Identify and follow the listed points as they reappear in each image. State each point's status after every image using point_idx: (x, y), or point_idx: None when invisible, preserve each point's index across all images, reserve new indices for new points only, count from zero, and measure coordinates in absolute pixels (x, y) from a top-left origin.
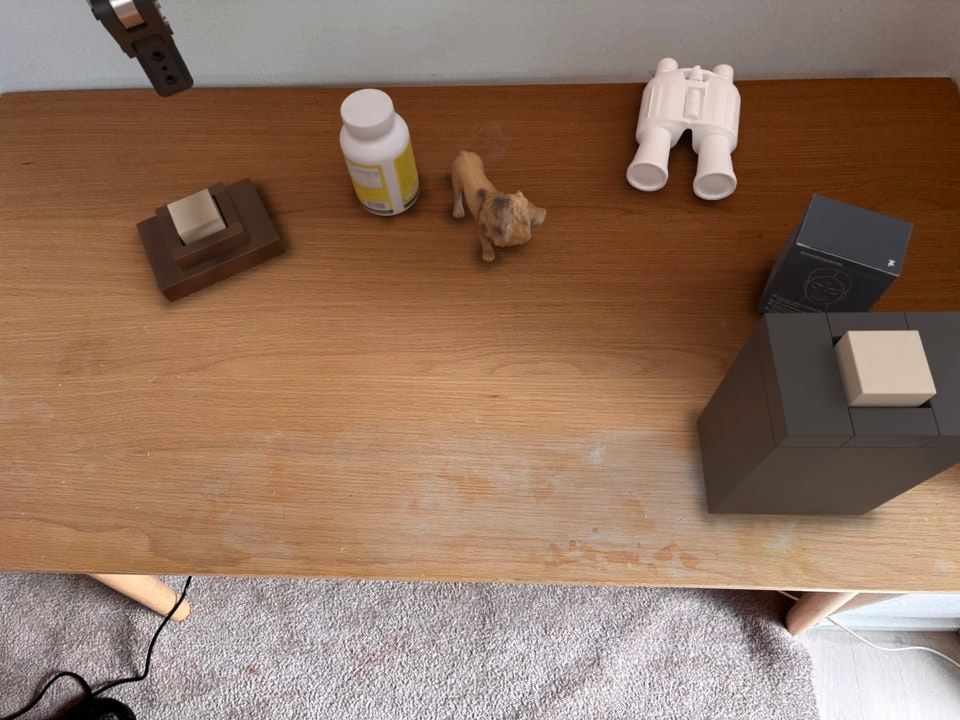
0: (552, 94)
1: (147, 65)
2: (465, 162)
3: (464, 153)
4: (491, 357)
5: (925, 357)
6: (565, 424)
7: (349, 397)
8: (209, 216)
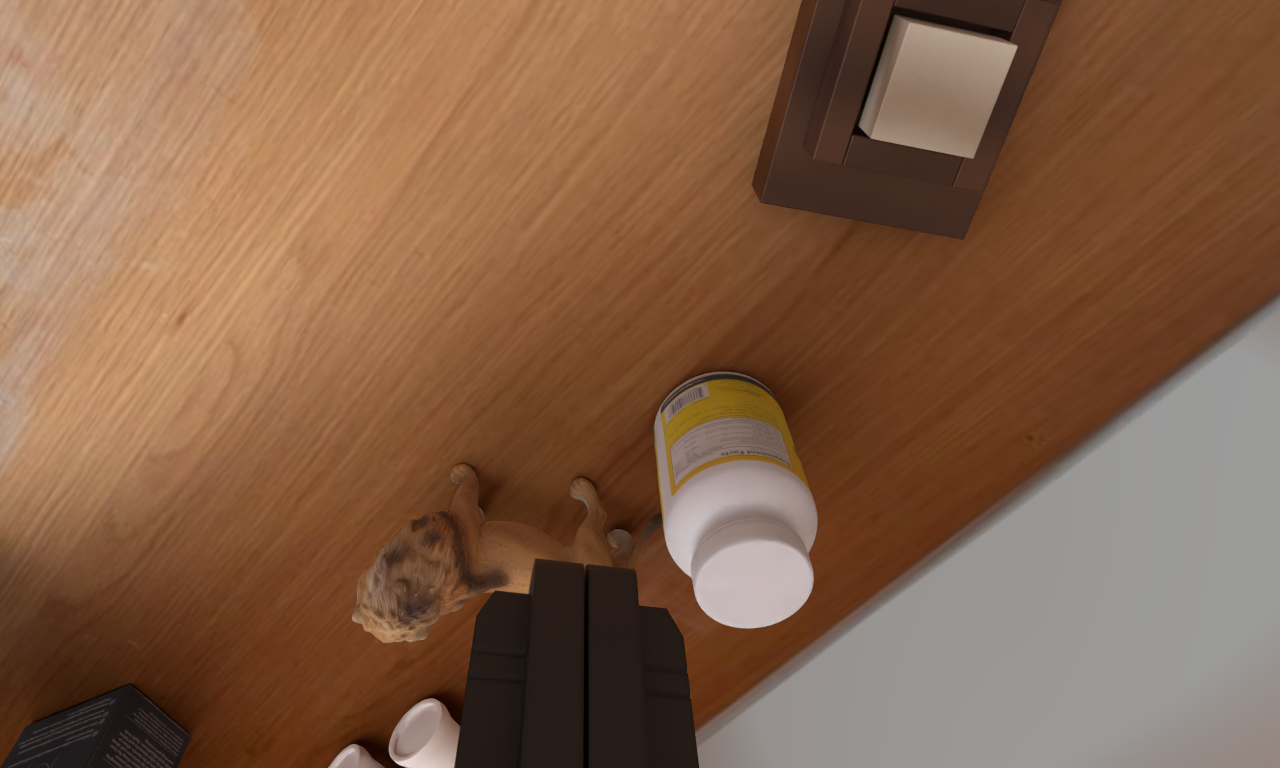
0: None
1: (524, 689)
2: None
3: None
4: (262, 360)
5: None
6: (67, 378)
7: (327, 92)
8: (892, 119)
